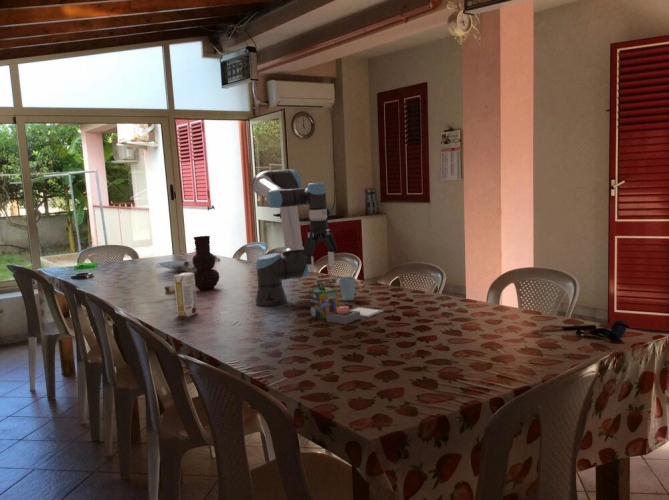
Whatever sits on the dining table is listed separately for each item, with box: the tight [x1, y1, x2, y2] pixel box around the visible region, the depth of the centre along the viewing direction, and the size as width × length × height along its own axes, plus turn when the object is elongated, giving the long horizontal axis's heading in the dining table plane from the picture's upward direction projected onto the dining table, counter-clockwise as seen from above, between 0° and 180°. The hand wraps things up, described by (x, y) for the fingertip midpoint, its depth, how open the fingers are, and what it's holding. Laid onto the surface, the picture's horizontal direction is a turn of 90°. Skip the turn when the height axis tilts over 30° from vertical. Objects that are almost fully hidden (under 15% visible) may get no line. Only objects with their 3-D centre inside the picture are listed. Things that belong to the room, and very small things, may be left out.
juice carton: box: [173, 272, 198, 318], centre depth 261 cm, size 8×9×19 cm
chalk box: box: [308, 281, 339, 320], centre depth 245 cm, size 9×9×15 cm
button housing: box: [325, 309, 361, 325], centre depth 237 cm, size 10×10×3 cm
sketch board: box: [351, 306, 385, 318], centre depth 248 cm, size 14×12×1 cm
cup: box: [338, 276, 356, 302], centre depth 275 cm, size 8×8×10 cm
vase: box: [191, 235, 220, 292], centre depth 317 cm, size 15×15×30 cm
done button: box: [336, 305, 350, 315], centre depth 236 cm, size 5×5×3 cm
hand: (321, 269), depth 243 cm, fingers open, 13 cm apart
